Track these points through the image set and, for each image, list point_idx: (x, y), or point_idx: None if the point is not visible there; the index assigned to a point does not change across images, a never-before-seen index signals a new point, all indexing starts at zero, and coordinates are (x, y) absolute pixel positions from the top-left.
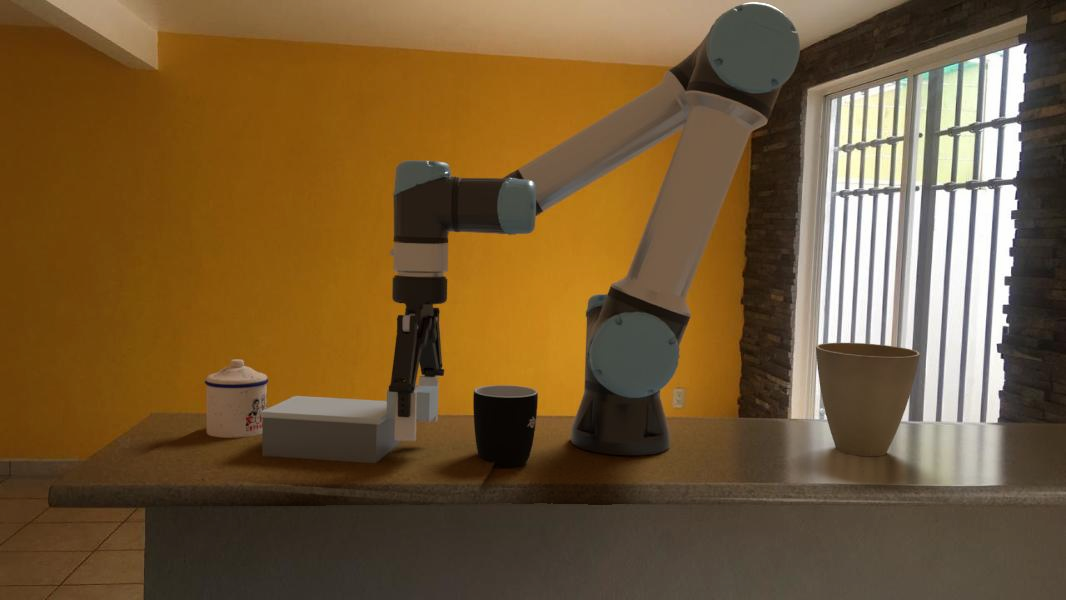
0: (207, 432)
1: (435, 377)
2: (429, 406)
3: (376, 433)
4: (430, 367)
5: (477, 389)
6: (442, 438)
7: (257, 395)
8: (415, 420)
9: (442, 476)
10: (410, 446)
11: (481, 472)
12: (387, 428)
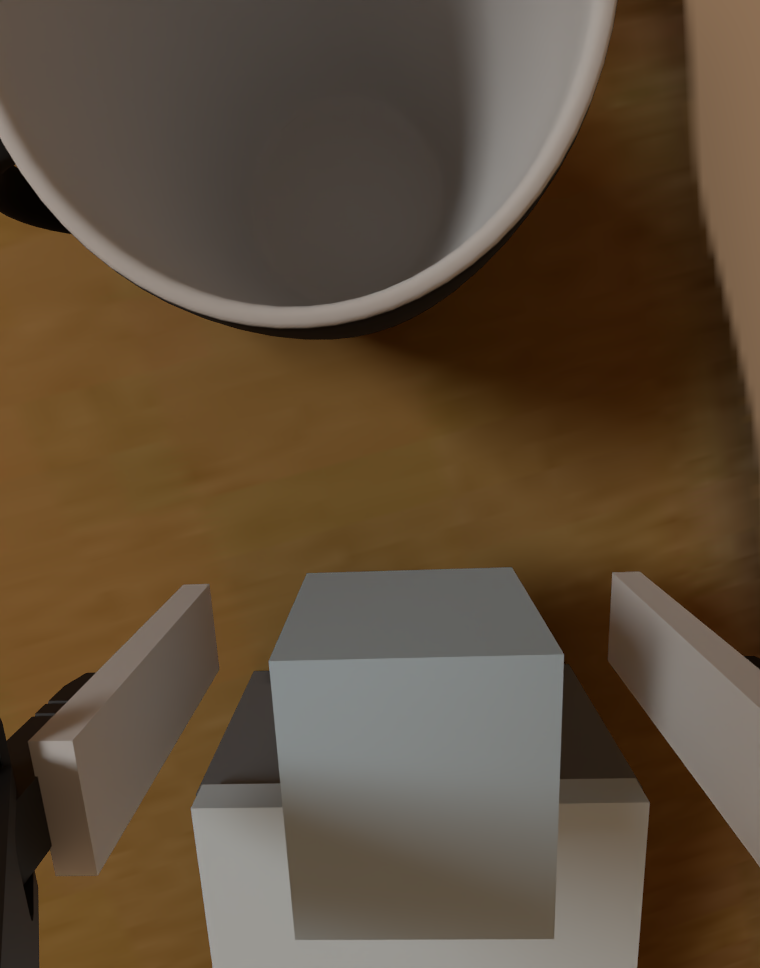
0: None
1: (66, 755)
2: (530, 605)
3: (619, 755)
4: (18, 875)
5: (269, 307)
6: (61, 560)
7: None
8: (678, 617)
9: (616, 410)
10: (229, 641)
11: (528, 270)
12: None
